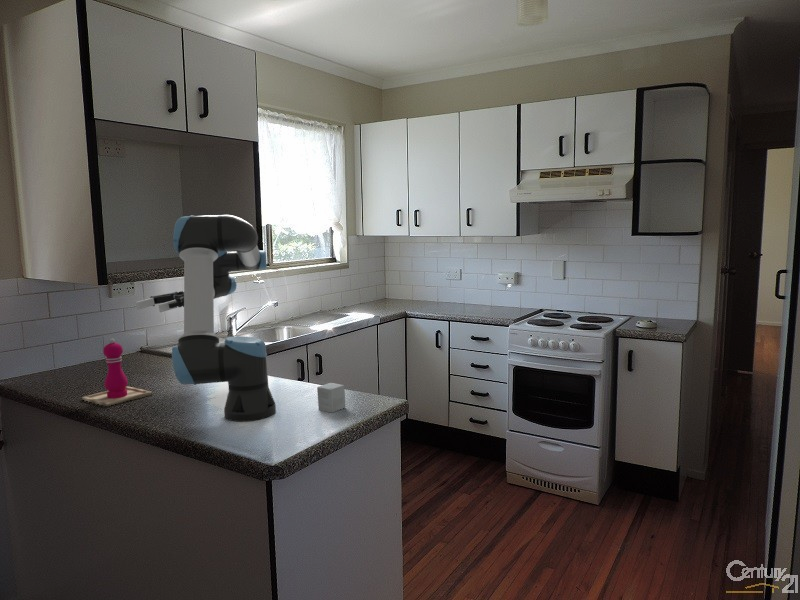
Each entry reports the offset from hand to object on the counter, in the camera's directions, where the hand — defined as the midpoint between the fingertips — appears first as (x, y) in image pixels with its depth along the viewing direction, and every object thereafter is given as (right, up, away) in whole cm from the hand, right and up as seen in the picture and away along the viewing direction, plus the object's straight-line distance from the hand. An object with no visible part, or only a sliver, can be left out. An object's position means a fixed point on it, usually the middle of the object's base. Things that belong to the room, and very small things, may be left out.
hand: (147, 307), depth 206 cm
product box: (+67, -31, -24) cm, 78 cm away
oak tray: (-9, -31, -2) cm, 33 cm away
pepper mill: (-9, -31, -2) cm, 32 cm away
